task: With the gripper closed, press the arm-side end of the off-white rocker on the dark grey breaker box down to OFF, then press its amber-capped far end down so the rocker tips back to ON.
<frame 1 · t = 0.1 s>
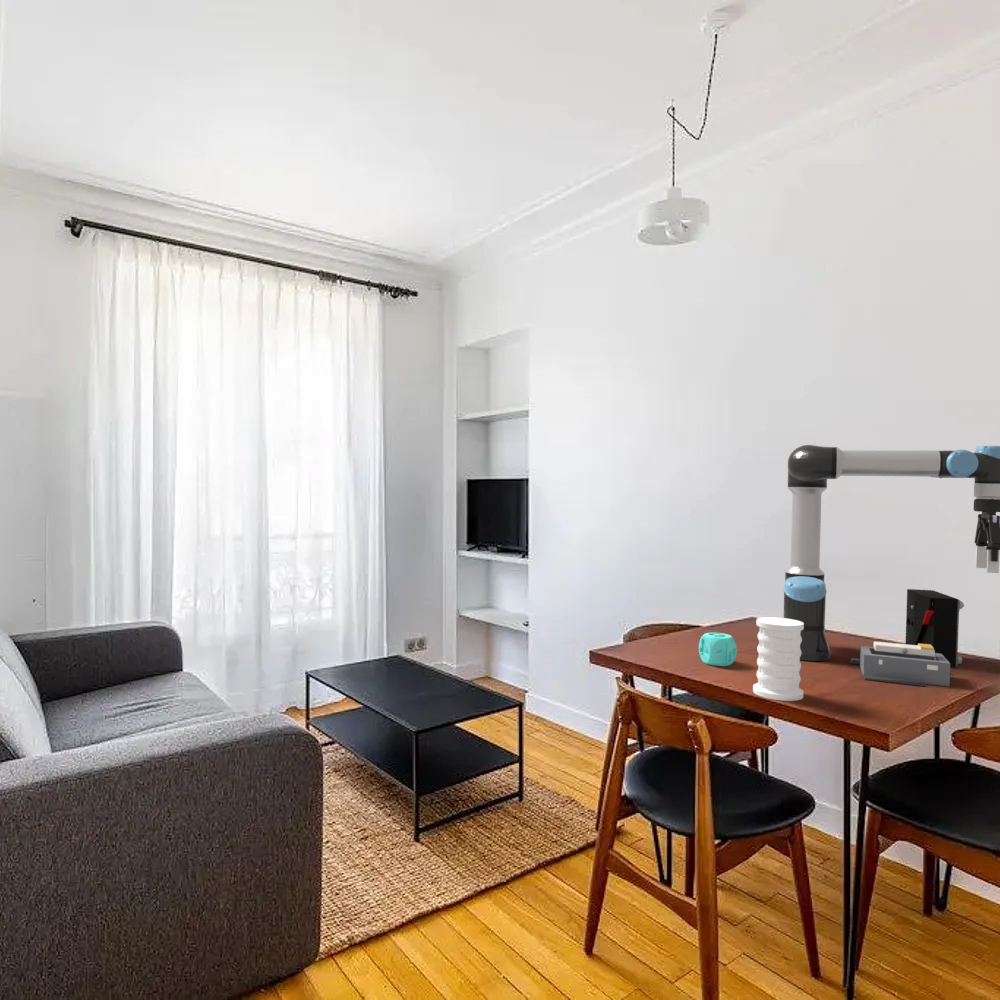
hand: (986, 570, 204), 28 cm above the table, fingers open, 13 cm apart
dark grey thin bar: (894, 682, 183), on the table
dressed cords: (897, 667, 199), on the table
breaker housing: (902, 675, 190), on the table
decorative container: (777, 694, 171), on the table
rocker: (903, 647, 190), point 8 cm above the table, hinge at 0.0°
electrical component: (932, 660, 209), on the table
decorative dice: (717, 663, 201), on the table
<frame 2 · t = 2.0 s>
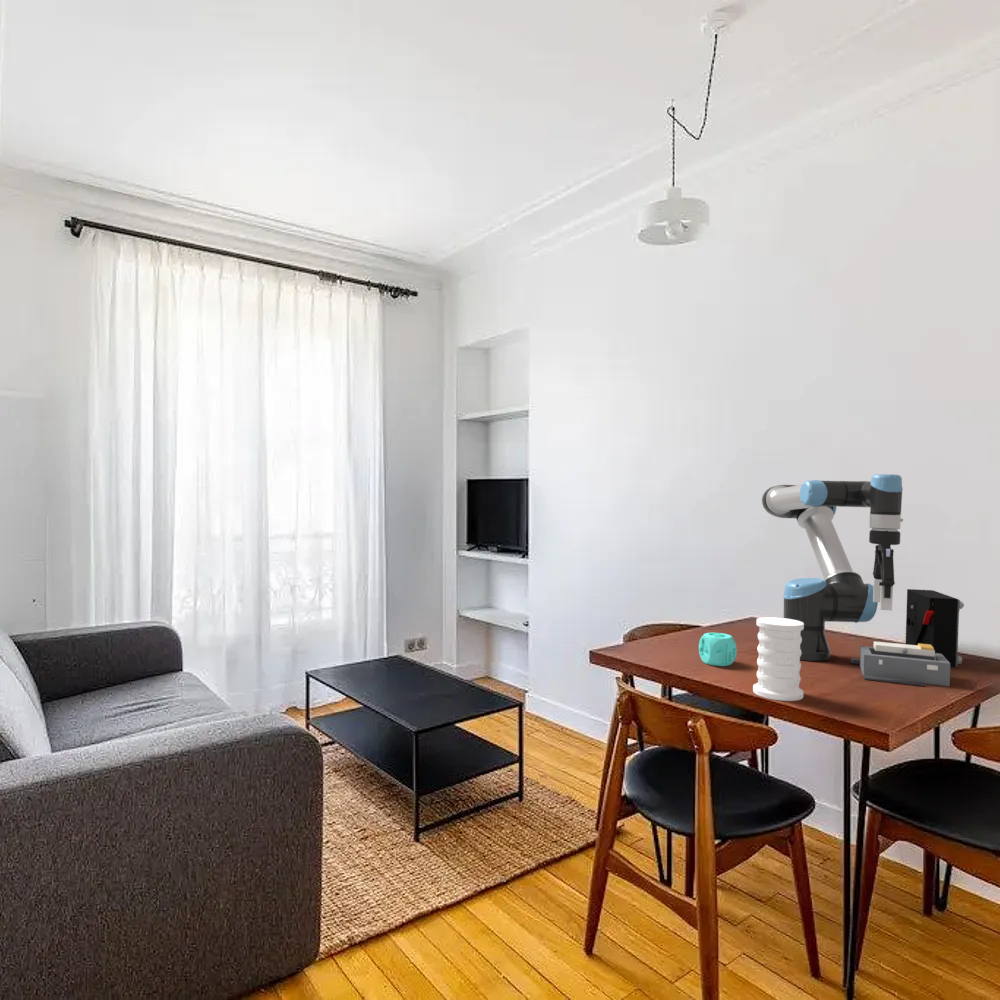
hand: (882, 606, 192), 19 cm above the table, fingers open, 13 cm apart
nothing on the table moved.
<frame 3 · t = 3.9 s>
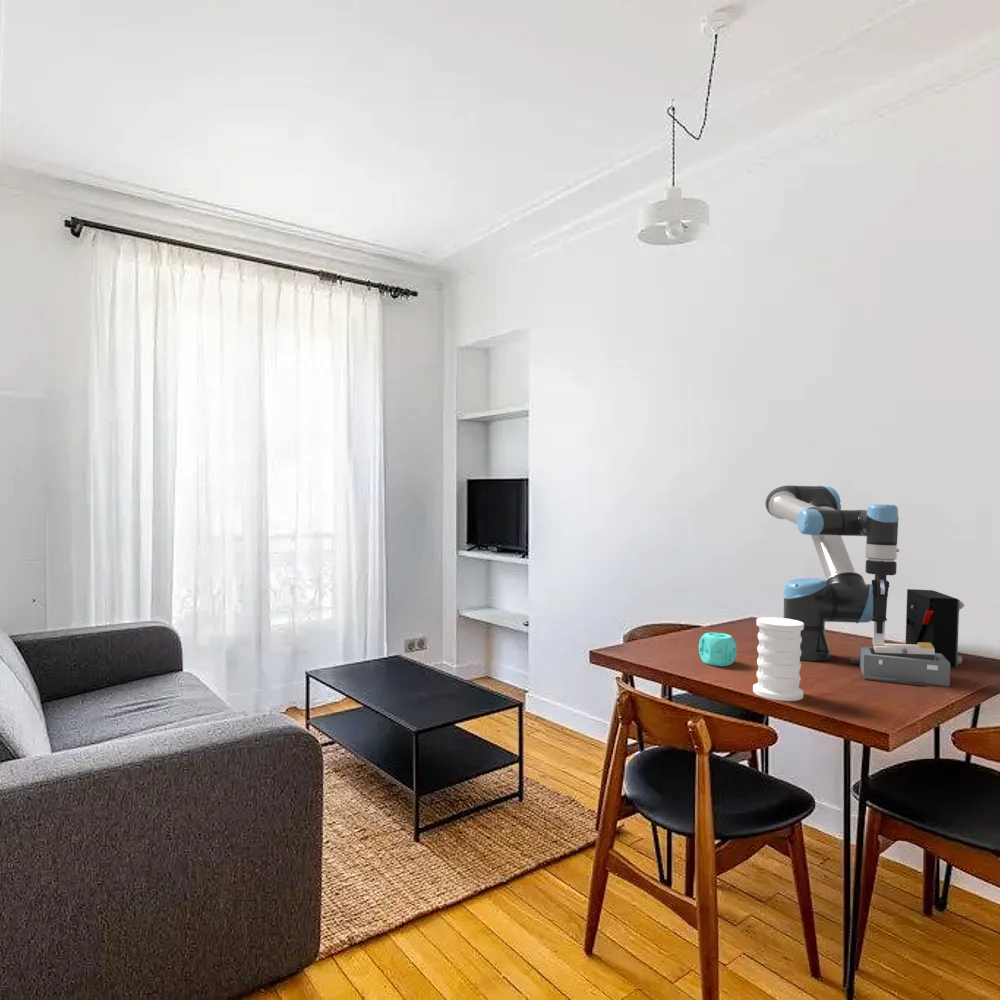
hand: (878, 644, 192), 8 cm above the table, fingers closed
rocker: (903, 647, 190), point 8 cm above the table, hinge at -4.5°, touching gripper
everything else where it was.
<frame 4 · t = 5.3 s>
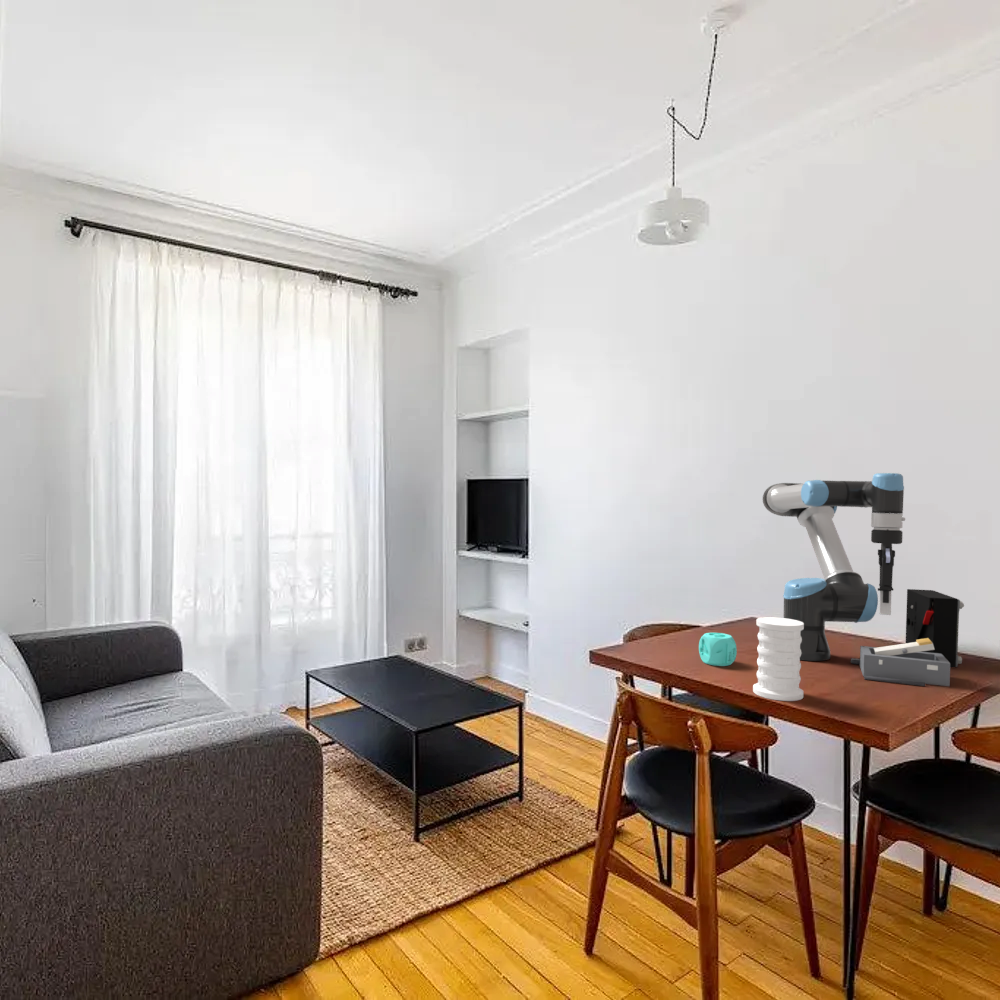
hand: (885, 614, 191), 17 cm above the table, fingers closed
rocker: (903, 647, 190), point 8 cm above the table, hinge at -15.5°
everything else where it was.
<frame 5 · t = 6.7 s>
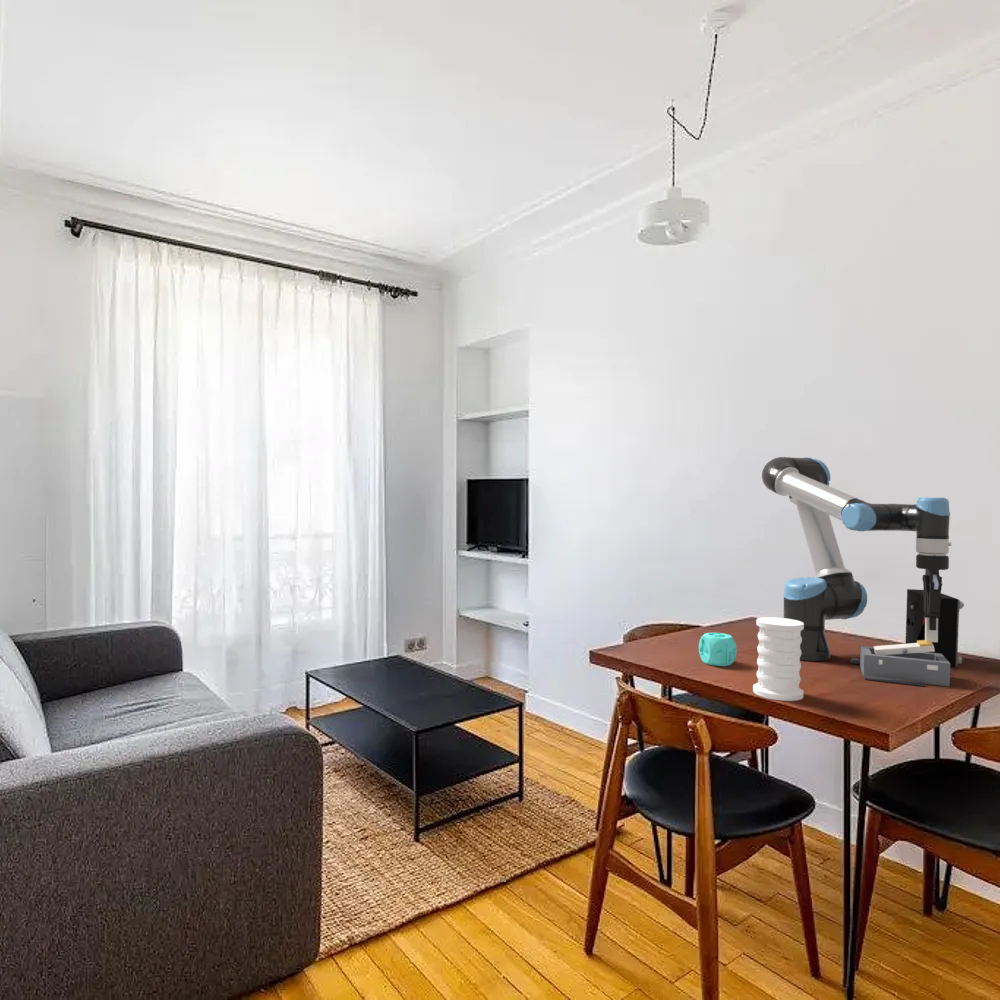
hand: (931, 641, 187), 10 cm above the table, fingers closed, pressing on rocker
rocker: (903, 647, 190), point 8 cm above the table, hinge at -11.2°, touching gripper
everything else where it was.
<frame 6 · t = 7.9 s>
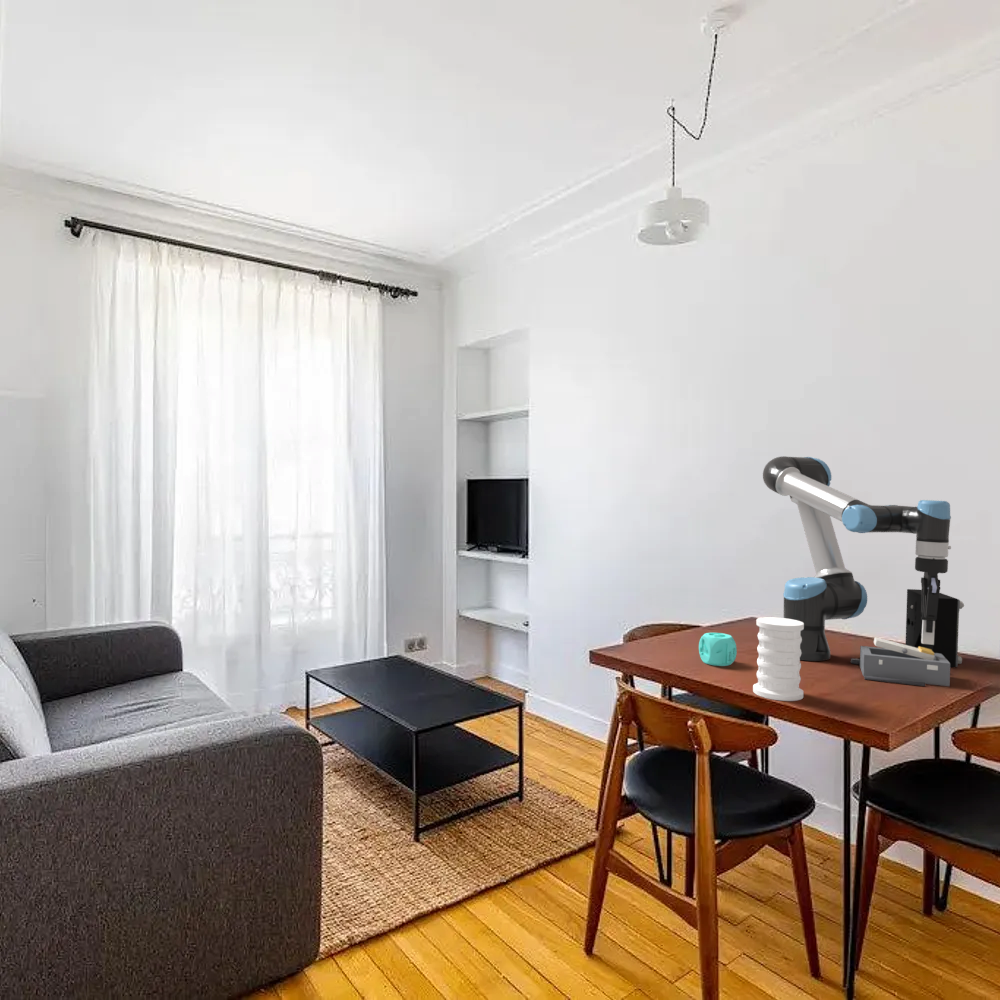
hand: (927, 643, 188), 10 cm above the table, fingers closed
rocker: (903, 647, 190), point 8 cm above the table, hinge at 11.0°
everything else where it was.
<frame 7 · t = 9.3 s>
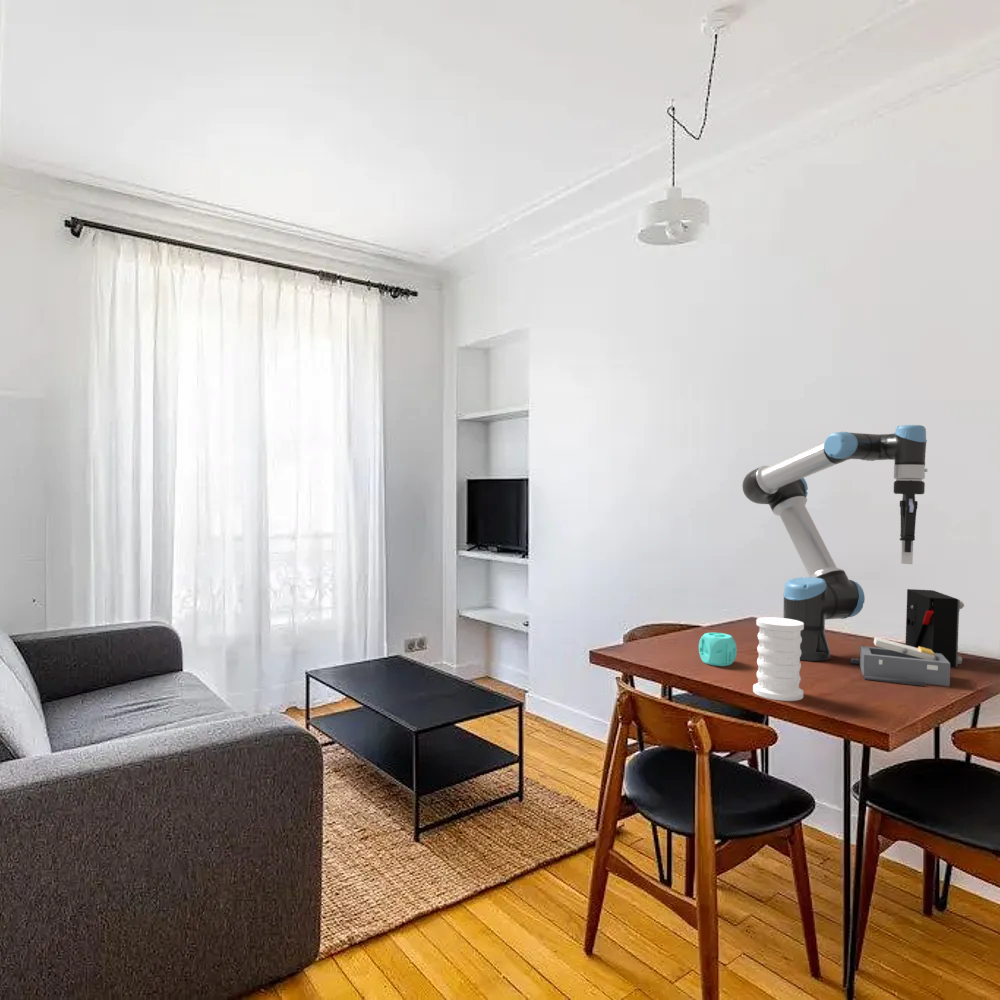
hand: (906, 563, 195), 30 cm above the table, fingers closed
nothing on the table moved.
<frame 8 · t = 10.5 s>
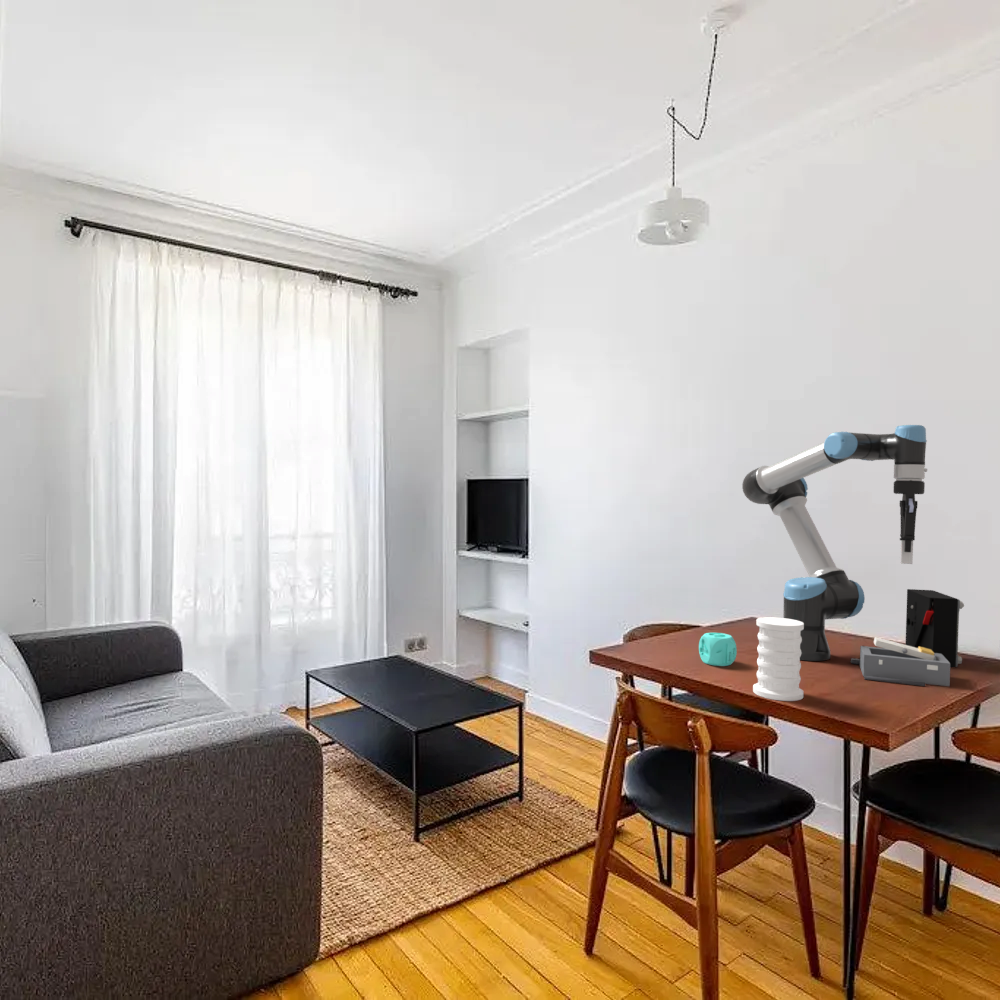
hand: (906, 563, 195), 30 cm above the table, fingers closed
nothing on the table moved.
at the end: rocker at +11° (first picture: +0°); rocker touching nothing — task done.
